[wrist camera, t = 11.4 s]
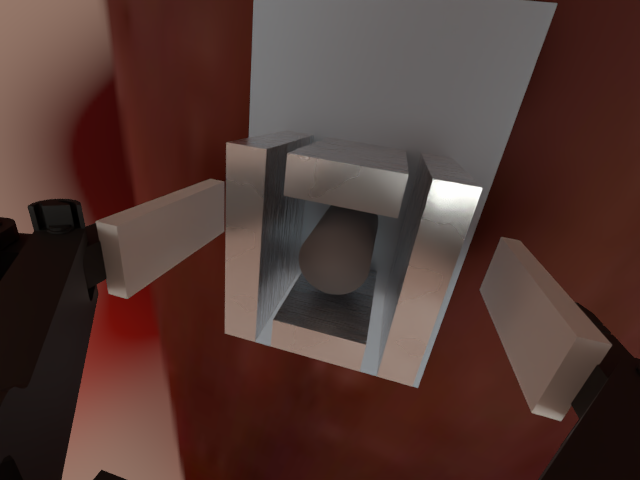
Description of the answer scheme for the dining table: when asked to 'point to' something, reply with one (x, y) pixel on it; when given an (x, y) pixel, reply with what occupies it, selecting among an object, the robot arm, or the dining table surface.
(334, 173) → the grey hollow square frame
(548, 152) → the dining table surface
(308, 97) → the post stand
